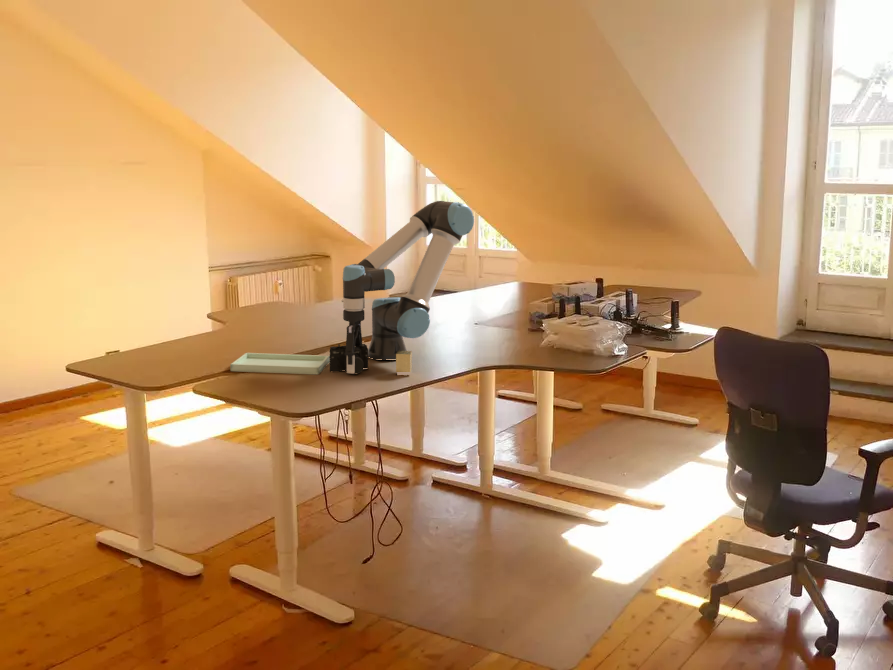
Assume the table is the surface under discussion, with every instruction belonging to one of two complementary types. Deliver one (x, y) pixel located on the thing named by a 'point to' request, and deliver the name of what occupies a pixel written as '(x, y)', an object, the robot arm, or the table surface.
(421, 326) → the robot arm
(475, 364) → the table surface
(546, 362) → the table surface
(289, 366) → the tray
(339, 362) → the camera
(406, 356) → the brass block
